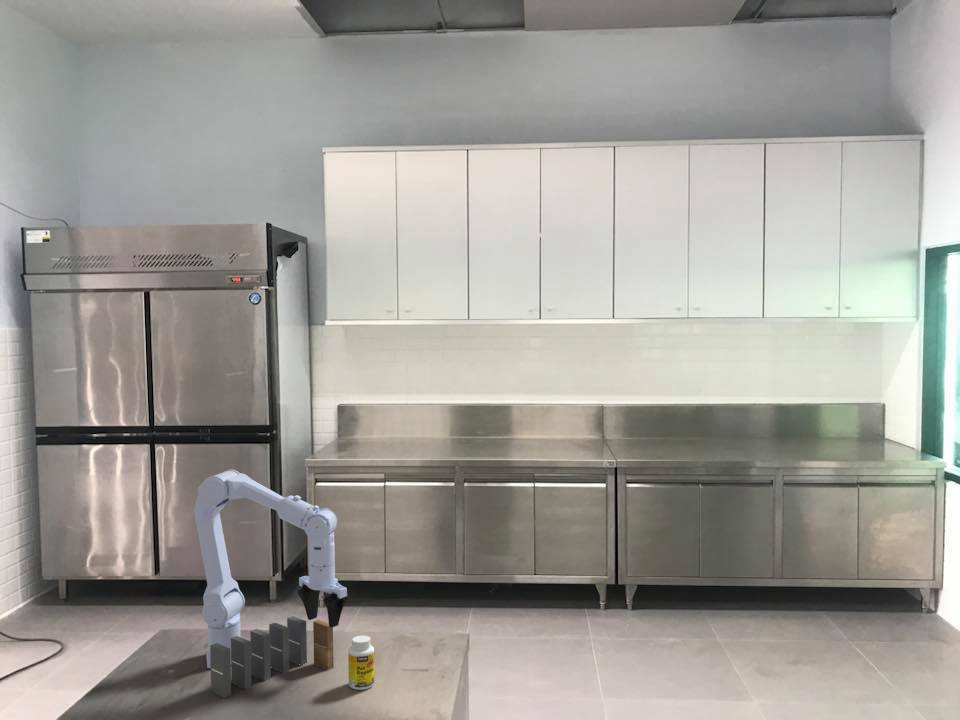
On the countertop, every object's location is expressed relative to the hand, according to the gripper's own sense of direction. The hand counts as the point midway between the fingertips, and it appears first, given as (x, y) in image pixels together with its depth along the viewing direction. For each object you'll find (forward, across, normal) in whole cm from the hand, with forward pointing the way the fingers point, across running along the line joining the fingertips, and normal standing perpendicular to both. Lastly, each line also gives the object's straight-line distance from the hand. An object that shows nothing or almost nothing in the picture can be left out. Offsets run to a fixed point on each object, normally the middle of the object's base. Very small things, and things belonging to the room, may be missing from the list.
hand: (323, 622), depth 179 cm
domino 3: (+10, +7, +12) cm, 17 cm away
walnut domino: (+10, 0, 0) cm, 10 cm away
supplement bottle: (+10, -14, +1) cm, 18 cm away
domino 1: (+10, +7, +22) cm, 25 cm away
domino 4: (+10, +7, +7) cm, 14 cm away
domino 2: (+10, +7, +17) cm, 21 cm away
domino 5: (+10, +7, +2) cm, 12 cm away
